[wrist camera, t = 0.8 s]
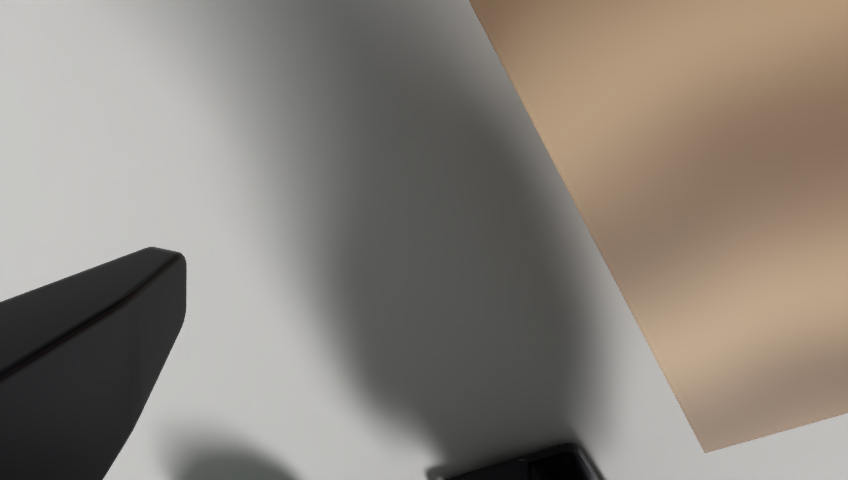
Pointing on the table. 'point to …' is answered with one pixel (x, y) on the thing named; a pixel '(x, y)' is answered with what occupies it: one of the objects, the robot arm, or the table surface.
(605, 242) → the walnut plate
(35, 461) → the robot arm
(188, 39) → the table surface
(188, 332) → the table surface
